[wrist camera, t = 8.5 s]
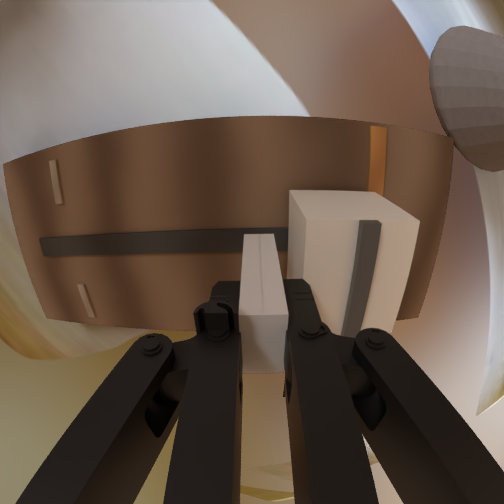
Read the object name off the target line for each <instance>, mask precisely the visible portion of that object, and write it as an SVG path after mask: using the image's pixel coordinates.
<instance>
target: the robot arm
mask: <svg viewBox="0 0 504 504" xmlns="http://www.w3.org/2000/svg"><path fill="white" fill-rule="evenodd" d="M193 315H194V321H195V326H196V332H197V335H196V336H195V337H193V338H191V339H188V340H184V341H179V342H174V343H172V341H171V340H170V339H169V338H168V337H167V336H165V335H163V334H155V333H153V334H147V335H145V336H142V337H140V338H139V339H138V340H137V341H135V342H134V344H133V345H132V346H131V347H130V348H129V350H128V351H127V352H126V353H125V355H124V356H123V357H122V358H121V360H120V361H119V362H118V364H117V365H116V366H115V367H114V369H113V370H112V371H111V372H110V374H109V375H108V376H107V377H106V379H105V380H104V381H103V383H102V384H101V385H100V386H99V388H98V389H97V390H96V392H95V393H94V394H93V396H92V397H91V398H90V399H89V401H88V402H87V403H86V405H85V406H84V407H83V409H82V410H81V411H80V413H79V414H78V415H77V417H76V418H75V419H74V421H73V422H72V423H71V425H70V426H69V427H68V429H67V430H66V432H65V433H64V434H63V435H62V437H61V438H60V440H59V441H58V442H57V444H56V445H55V447H54V448H53V449H52V451H51V452H50V454H49V455H48V456H47V458H46V459H45V461H44V462H43V463H42V465H41V466H40V468H39V469H38V471H37V472H36V474H35V475H34V477H33V478H32V479H31V481H30V482H29V484H28V485H27V487H26V488H25V490H24V491H23V493H22V494H21V496H20V498H19V499H18V500H17V502H16V504H133V503H134V501H135V499H136V497H137V495H138V493H139V492H140V490H141V488H142V486H143V484H144V482H145V480H146V478H147V476H148V474H149V473H150V471H151V469H152V467H153V465H154V463H155V461H156V459H157V458H158V455H159V454H160V452H161V450H162V448H163V446H164V444H165V442H166V440H167V438H168V437H169V435H170V433H171V431H172V429H173V427H174V425H175V423H176V421H177V419H178V424H177V429H176V434H175V439H174V444H173V450H172V455H171V461H170V466H169V472H168V478H167V484H166V490H165V496H164V502H163V504H240V474H241V473H240V472H241V432H242V395H243V382H242V374H264V373H265V374H267V373H284V369H285V383H284V392H283V393H284V394H283V397H286V406H287V417H288V427H289V438H290V449H291V461H292V473H293V485H294V498H295V504H379V502H378V498H377V493H376V489H375V484H374V480H373V476H372V472H371V467H370V463H369V459H368V455H367V451H366V447H365V443H364V440H363V436H364V437H365V439H366V441H367V442H368V444H369V446H370V447H371V449H372V451H373V452H374V454H375V456H376V458H377V459H378V461H379V463H380V464H381V466H382V468H383V469H384V471H385V473H386V474H387V476H388V478H389V480H390V481H391V483H392V484H393V486H394V488H395V490H396V492H397V493H398V495H399V497H400V498H401V500H402V502H403V503H404V504H504V472H503V470H502V469H501V468H500V466H499V465H498V464H497V462H496V461H495V459H494V458H493V457H492V455H491V454H490V453H489V451H488V450H487V449H486V447H485V446H484V445H483V444H482V442H481V441H480V439H479V438H478V437H477V436H476V434H475V433H474V432H473V430H472V429H471V428H470V427H469V425H468V424H467V423H466V422H465V420H464V419H463V418H462V417H461V415H460V414H459V413H458V412H457V411H456V409H455V408H454V407H453V406H452V404H451V403H450V402H449V401H448V400H447V398H446V397H445V396H444V395H443V394H442V392H441V391H440V390H439V389H438V388H437V387H436V385H435V384H434V383H433V382H432V381H431V379H430V378H429V377H428V376H427V375H426V374H425V373H424V371H423V370H422V369H421V368H420V367H419V366H418V365H417V363H416V362H415V361H414V360H413V359H412V358H411V357H410V355H409V354H408V353H407V352H406V351H405V350H404V349H403V348H402V347H401V346H400V344H399V343H398V342H397V341H396V340H395V339H394V338H393V337H392V336H391V335H390V334H389V333H388V332H386V331H384V330H382V329H379V328H366V329H363V330H361V331H359V333H358V334H357V335H356V338H352V337H345V336H340V335H336V334H334V333H332V332H331V330H330V329H329V327H328V326H327V325H326V324H325V323H323V322H322V321H321V318H320V315H319V312H318V309H317V305H316V302H315V300H314V296H313V294H312V290H311V287H310V285H309V284H308V283H307V282H306V281H305V280H304V279H282V275H281V270H280V264H279V259H278V254H277V249H276V243H275V238H274V234H244V243H243V257H242V271H241V281H218V282H217V283H216V284H215V285H214V286H213V287H212V291H211V297H210V300H209V301H208V302H205V303H203V304H201V305H199V306H198V307H197V308H196V309H195V311H194V312H193ZM178 417H179V418H178ZM362 434H363V436H362Z"/></svg>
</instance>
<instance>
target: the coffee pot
mask: <svg viewBox="0 0 504 504" xmlns="http://www.w3.org/2000/svg"><path fill="white" fill-rule="evenodd" d="M429 78H430V90H431V94H432V98H433V103H434V107H435V110H436V112H437V115H438V117H439V120H440V122H441V125H442V127H443V129H444V131H445V132H446V134H447V136H448V137H451V138H454V145H455V147H456V148H457V149H458V150H459V151H460V152H461V154H462V155H463V156H464V157H465V158H466V159H467V160H468V161H470V162H471V163H473V164H474V165H475V166H477V167H478V168H480V169H483V170H487V171H491V172H495V171H500V170H504V38H503V37H500V36H498V35H495V34H492V33H489V32H486V31H483V30H479V29H476V28H472V27H468V26H457V27H452V28H450V29H448V30H447V31H446V32H445V33H444V34H442V35H441V36H440V37H439V39H438V41H437V43H436V45H435V47H434V49H433V51H432V54H431V59H430V66H429Z"/></svg>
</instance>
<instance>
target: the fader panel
mask: <svg viewBox="0 0 504 504" xmlns="http://www.w3.org/2000/svg"><path fill="white" fill-rule="evenodd" d="M453 145H454V138H451V137H447V136H443V135H439V134H434V133H429V132H425V131H420V130H415V129H410V128H405V127H398V126H393V125H386V124H380V123H372V122H364V121H356V120H345V119H335V118H321V117H301V116H239V117H220V118H206V119H194V120H184V121H175V122H167V123H160V124H153V125H146V126H140V127H134V128H129V129H123V130H118V131H113V132H108V133H104V134H99V135H95V136H91V137H87V138H83V139H79V140H75V141H71V142H67V143H64V144H60V145H57V146H53V147H50V148H47V149H44V150H41V151H38V152H35V153H32V154H29V155H26V156H23V157H20V158H18V159H15V160H12V161H10V162H7V163H5V164H3V168H4V176H5V182H6V189H7V194H8V200H9V205H10V209H11V214H12V218H13V222H14V227H15V230H16V234H17V238H18V241H19V245H20V248H21V252H22V255H23V258H24V261H25V264H26V267H27V270H28V273H29V276H30V279H31V281H32V284H33V287H34V289H35V292H36V294H37V297H38V299H39V302H40V304H41V306H42V309H43V311H44V313H45V315H46V318H48V319H55V320H62V321H69V322H77V323H86V324H95V325H105V326H116V327H128V328H142V329H159V330H182V331H196V326H195V321H194V315H193V312H194V311H195V309H196V308H197V307H198V306H199V305H201V304H203V303H205V302H208V301H209V300H210V297H211V291H212V287H213V286H214V285H215V284H216V283H217V282H218V281H241V271H242V257H243V243H244V234H274V238H275V243H276V249H277V254H278V259H279V264H280V270H281V275H282V279H287V263H288V231H289V190H334V191H364V192H376V193H377V194H379V195H381V196H382V197H384V198H385V199H387V200H389V201H390V202H392V203H393V204H395V205H397V206H398V207H400V208H401V209H403V210H404V211H406V212H407V213H409V214H410V215H412V216H413V217H415V218H416V219H418V220H419V221H420V224H419V230H418V235H417V240H416V245H415V250H414V254H413V259H412V263H411V267H410V272H409V276H408V279H407V283H406V287H405V291H404V294H403V298H402V301H401V305H400V308H399V311H398V314H397V318H396V320H404V319H411V318H418V316H419V313H420V310H421V307H422V305H423V302H424V299H425V295H426V292H427V289H428V286H429V282H430V279H431V275H432V272H433V268H434V264H435V261H436V256H437V252H438V248H439V244H440V240H441V235H442V230H443V225H444V220H445V214H446V208H447V201H448V196H449V188H450V180H451V171H452V160H453Z"/></svg>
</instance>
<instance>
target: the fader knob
mask: <svg viewBox="0 0 504 504" xmlns="http://www.w3.org/2000/svg"><path fill="white" fill-rule="evenodd" d="M419 224H420V221H419V220H418V219H416V218H415V217H413V216H412V215H410V214H409V213H407V212H406V211H404V210H403V209H401V208H400V207H398V206H397V205H395V204H393V203H392V202H390V201H389V200H387V199H385V198H384V197H382V196H381V195H379V194H377V193H376V192H364V191H334V190H289V231H288V263H287V279H304V280H305V281H306V282H307V283H308V284H309V285H310V287H311V290H312V294H313V296H314V300H315V302H316V305H317V309H318V312H319V315H320V318H321V321H322V322H323V323H325V324H326V325H327V326H328V327H329V329H330V330H331V332H332V333H334V334H336V335H340V336H345V337H352V338H356V335H357V334H358V333H359V331H361V330H363V329H366V328H379V329H382V330H384V331H386V332H388V333H392V330H393V327H394V324H395V321H396V318H397V314H398V311H399V308H400V305H401V301H402V298H403V294H404V291H405V287H406V283H407V279H408V276H409V272H410V267H411V263H412V259H413V254H414V250H415V245H416V240H417V235H418V230H419Z"/></svg>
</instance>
